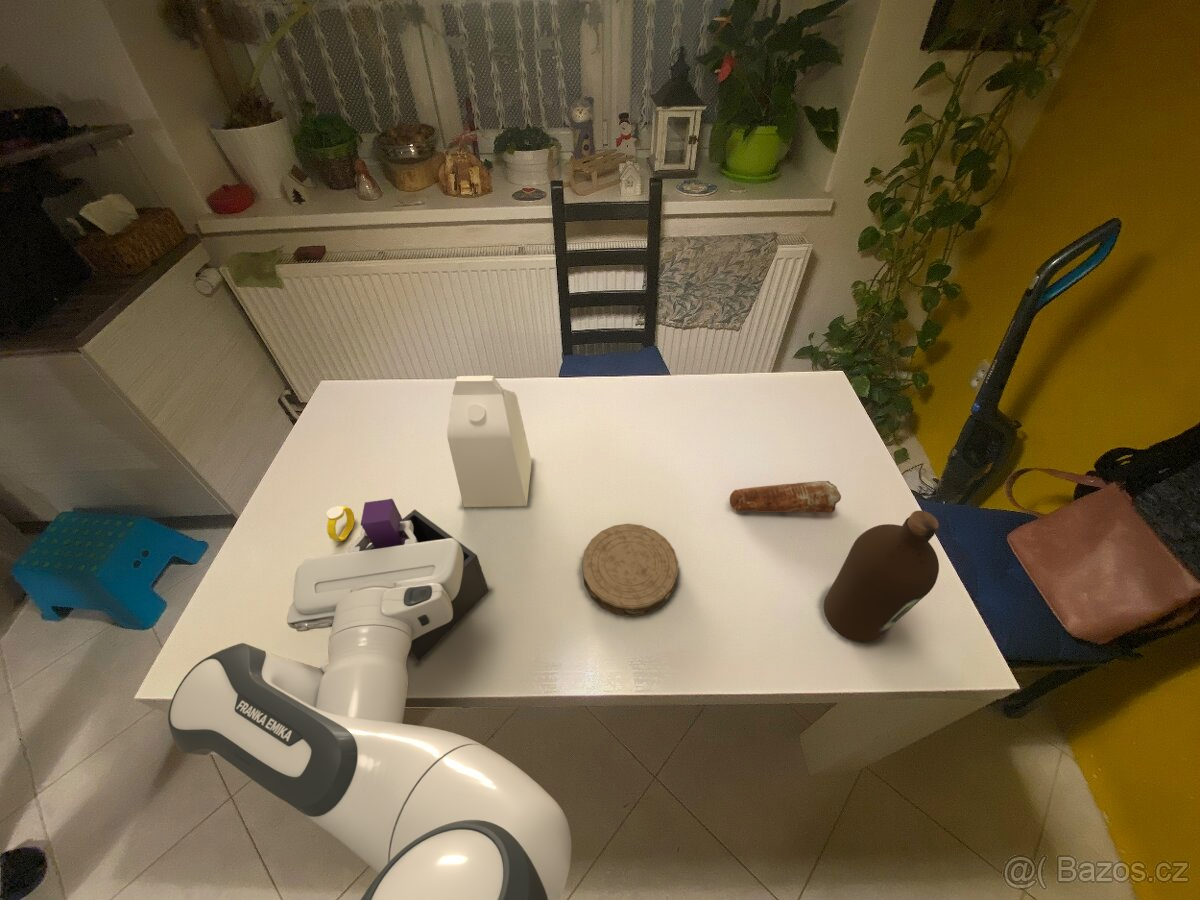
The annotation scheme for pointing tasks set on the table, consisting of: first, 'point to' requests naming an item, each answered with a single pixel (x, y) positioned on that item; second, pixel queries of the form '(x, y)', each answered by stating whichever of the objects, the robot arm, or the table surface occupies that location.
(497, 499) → the milk
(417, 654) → the waste bin
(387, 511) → the purple rectangular block
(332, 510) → the watch
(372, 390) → the table surface
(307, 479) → the table surface
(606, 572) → the wood slice coaster
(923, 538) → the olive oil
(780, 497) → the bread
